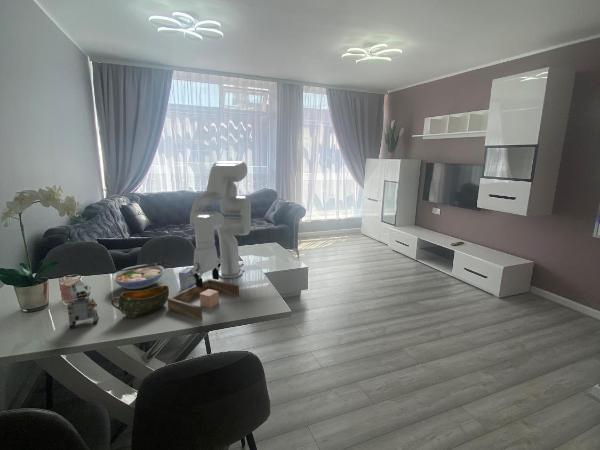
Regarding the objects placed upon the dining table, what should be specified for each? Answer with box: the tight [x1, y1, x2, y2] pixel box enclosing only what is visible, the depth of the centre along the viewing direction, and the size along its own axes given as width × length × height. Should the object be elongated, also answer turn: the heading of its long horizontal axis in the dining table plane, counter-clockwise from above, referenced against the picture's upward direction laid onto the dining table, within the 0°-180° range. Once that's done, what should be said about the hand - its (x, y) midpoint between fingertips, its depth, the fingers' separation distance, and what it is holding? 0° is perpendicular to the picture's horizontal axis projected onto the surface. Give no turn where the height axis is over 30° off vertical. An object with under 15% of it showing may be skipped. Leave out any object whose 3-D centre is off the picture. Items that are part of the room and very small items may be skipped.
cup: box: [110, 285, 170, 319], centre depth 132 cm, size 13×20×10 cm, turn 107°
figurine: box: [66, 282, 100, 330], centre depth 123 cm, size 9×12×15 cm
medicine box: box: [178, 266, 196, 291], centre depth 156 cm, size 8×4×9 cm, turn 168°
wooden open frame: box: [166, 278, 240, 321], centre depth 140 cm, size 24×18×5 cm
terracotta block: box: [199, 289, 220, 309], centre depth 139 cm, size 6×6×6 cm
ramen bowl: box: [108, 261, 165, 290], centre depth 157 cm, size 25×23×8 cm
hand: (207, 282), depth 136 cm, fingers open, 9 cm apart
